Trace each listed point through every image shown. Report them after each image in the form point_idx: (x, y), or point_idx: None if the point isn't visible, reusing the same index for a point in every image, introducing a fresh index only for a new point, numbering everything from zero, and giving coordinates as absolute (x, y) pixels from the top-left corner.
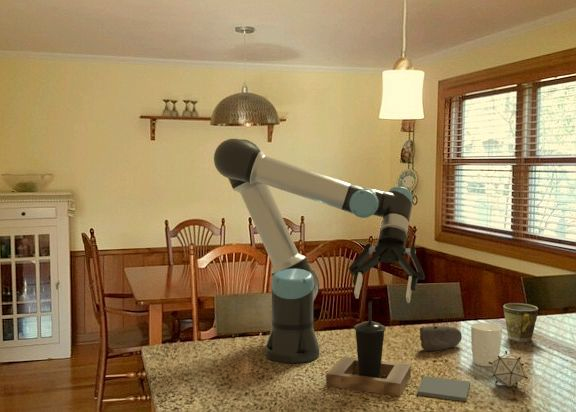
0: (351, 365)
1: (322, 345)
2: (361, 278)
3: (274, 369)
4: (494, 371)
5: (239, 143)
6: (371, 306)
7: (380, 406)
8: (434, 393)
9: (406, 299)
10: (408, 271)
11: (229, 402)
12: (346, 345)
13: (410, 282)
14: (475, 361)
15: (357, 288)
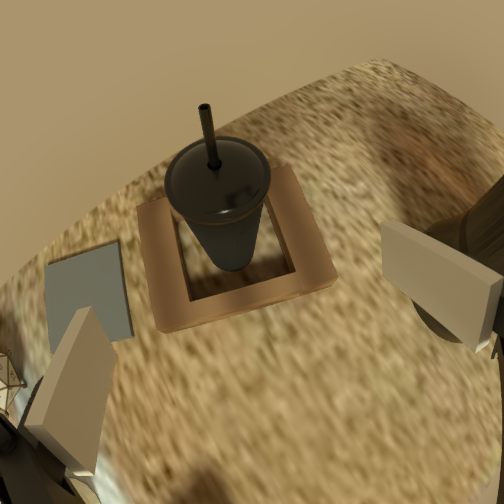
0: (286, 248)
1: (458, 386)
2: (466, 314)
3: (415, 193)
4: (4, 359)
5: None
6: (201, 123)
7: (160, 166)
8: (89, 252)
9: (102, 330)
10: (55, 491)
11: (345, 81)
12: (419, 432)
13: (45, 380)
14: (84, 486)
15: (399, 232)
